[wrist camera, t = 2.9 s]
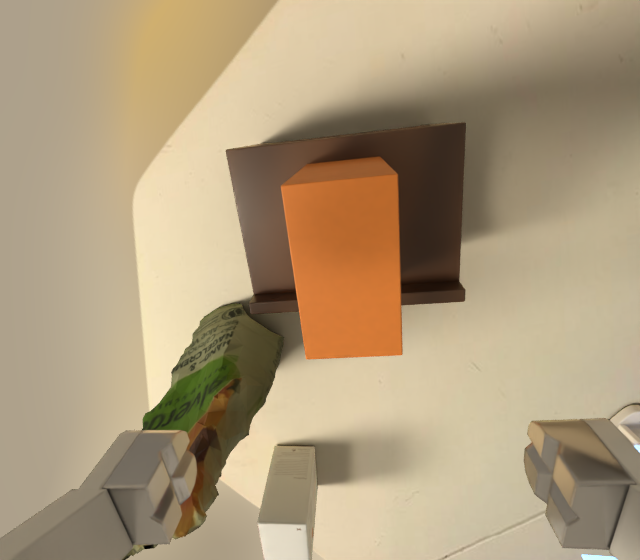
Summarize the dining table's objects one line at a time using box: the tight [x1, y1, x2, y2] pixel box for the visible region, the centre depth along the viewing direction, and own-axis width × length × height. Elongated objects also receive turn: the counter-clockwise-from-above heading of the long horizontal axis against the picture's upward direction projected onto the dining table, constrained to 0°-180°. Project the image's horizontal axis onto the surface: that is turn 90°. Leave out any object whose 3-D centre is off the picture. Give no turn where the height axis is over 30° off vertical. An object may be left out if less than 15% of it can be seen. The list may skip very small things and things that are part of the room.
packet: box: [281, 156, 402, 359], centre depth 21 cm, size 5×9×10 cm, turn 6°
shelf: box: [226, 122, 466, 314], centre depth 30 cm, size 16×12×12 cm
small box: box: [257, 446, 318, 560], centre depth 45 cm, size 8×6×10 cm
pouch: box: [122, 303, 284, 560], centre depth 31 cm, size 11×12×25 cm
